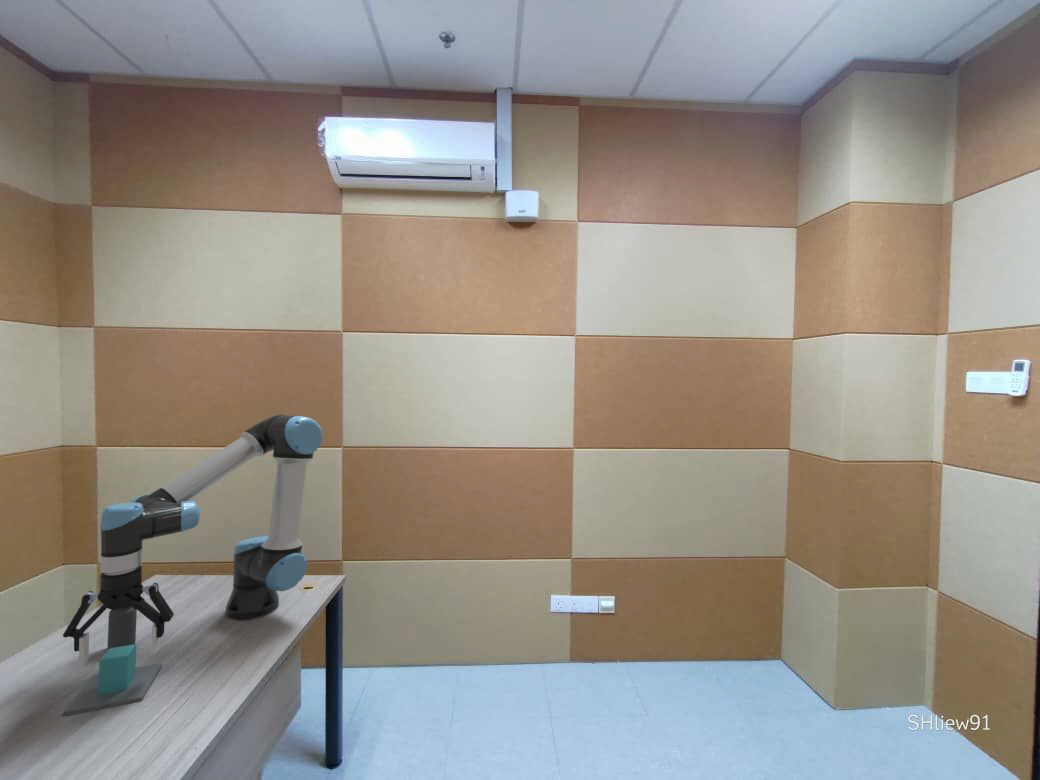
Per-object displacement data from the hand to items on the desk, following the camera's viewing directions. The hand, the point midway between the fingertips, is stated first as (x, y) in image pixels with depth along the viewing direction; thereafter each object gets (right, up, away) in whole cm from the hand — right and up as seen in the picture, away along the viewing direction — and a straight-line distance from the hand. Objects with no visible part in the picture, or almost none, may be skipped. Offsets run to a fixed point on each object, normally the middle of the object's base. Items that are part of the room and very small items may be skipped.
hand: (120, 656), depth 108 cm
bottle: (-14, -7, +16) cm, 23 cm away
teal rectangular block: (0, -7, 0) cm, 7 cm away
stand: (0, -7, -1) cm, 7 cm away
